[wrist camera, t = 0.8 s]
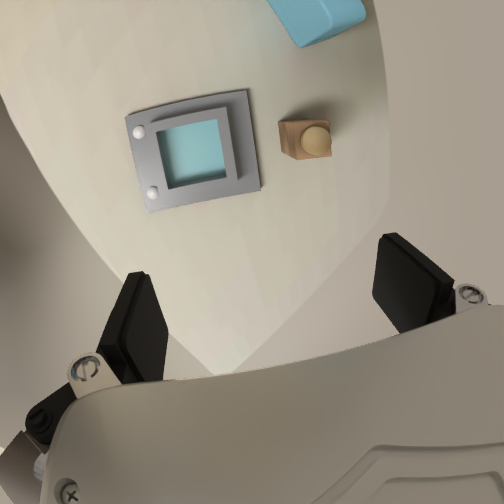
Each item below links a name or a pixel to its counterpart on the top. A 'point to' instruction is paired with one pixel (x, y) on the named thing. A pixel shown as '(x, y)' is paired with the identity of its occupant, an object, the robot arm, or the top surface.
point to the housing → (194, 150)
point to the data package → (317, 18)
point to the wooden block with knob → (305, 138)
